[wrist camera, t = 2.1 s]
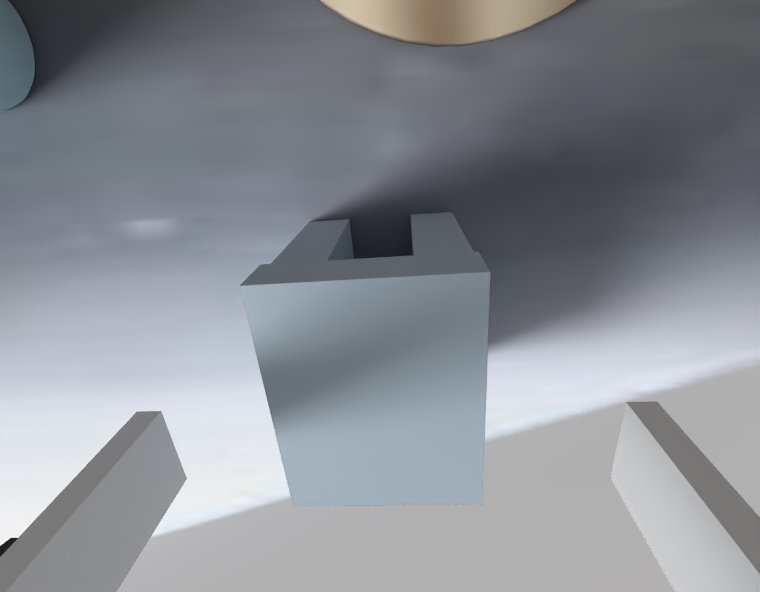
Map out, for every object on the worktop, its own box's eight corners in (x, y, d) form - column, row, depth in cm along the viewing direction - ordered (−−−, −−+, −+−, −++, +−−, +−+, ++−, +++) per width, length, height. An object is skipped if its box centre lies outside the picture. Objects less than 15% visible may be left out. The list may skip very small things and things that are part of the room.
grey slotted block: (332, 368, 23) (293, 506, 15) (308, 215, 19) (239, 285, 11) (453, 364, 22) (482, 504, 14) (452, 205, 19) (490, 271, 11)
